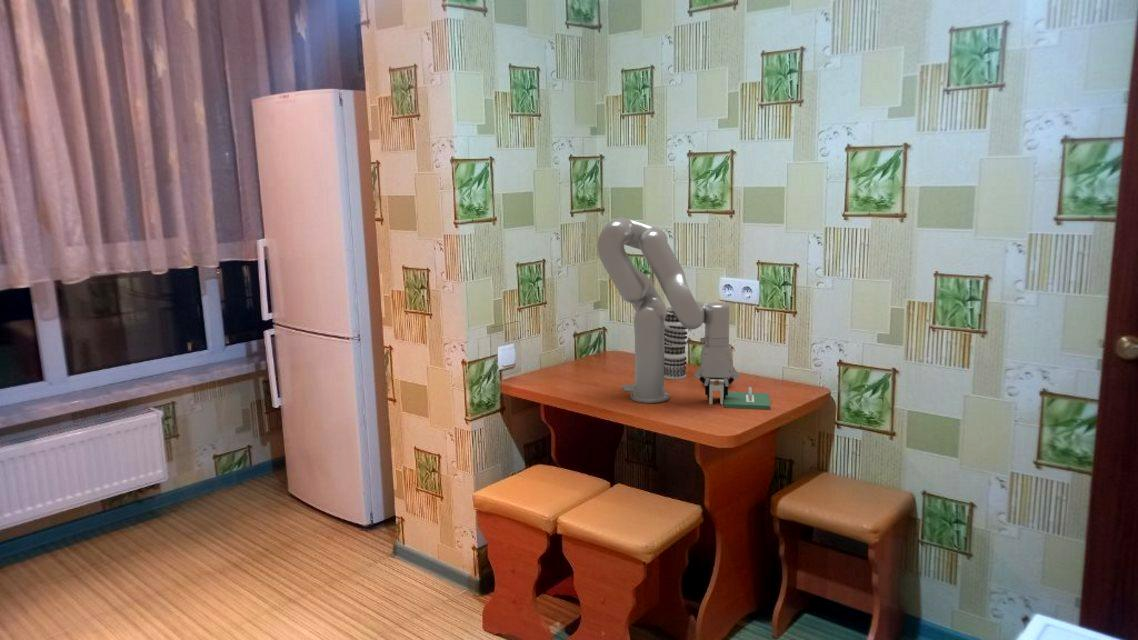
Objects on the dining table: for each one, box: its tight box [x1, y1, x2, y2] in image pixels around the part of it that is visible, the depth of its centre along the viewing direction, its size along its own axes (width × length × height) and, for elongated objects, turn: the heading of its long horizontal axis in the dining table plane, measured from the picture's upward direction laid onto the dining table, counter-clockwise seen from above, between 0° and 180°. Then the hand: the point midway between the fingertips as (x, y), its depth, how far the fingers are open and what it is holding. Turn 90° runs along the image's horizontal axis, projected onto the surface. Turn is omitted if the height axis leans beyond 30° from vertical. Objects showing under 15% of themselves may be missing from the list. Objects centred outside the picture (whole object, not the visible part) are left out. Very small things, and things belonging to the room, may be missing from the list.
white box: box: [708, 379, 724, 406], centre depth 252 cm, size 4×8×6 cm, turn 169°
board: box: [723, 386, 771, 411], centre depth 250 cm, size 14×14×4 cm
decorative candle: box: [664, 306, 688, 380], centre depth 281 cm, size 9×9×25 cm
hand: (716, 396), depth 252 cm, fingers closed on white box, 4 cm apart
